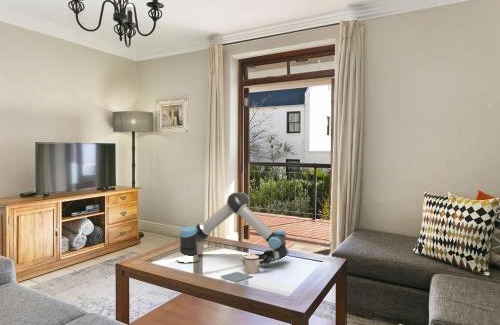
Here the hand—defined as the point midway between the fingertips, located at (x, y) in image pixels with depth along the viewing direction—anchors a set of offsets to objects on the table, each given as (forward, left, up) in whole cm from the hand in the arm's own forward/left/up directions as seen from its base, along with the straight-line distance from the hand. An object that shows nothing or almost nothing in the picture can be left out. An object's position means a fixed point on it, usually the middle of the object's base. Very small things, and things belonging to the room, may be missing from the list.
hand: (247, 261), depth 190 cm
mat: (+3, -12, -6) cm, 14 cm away
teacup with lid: (0, +2, -7) cm, 7 cm away
